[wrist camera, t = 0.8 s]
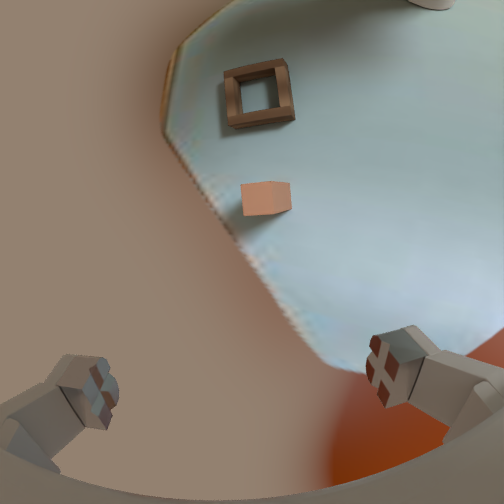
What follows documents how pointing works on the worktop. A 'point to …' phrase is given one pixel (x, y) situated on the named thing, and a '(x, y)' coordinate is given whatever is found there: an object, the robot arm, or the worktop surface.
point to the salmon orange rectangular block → (265, 198)
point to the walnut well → (250, 73)
